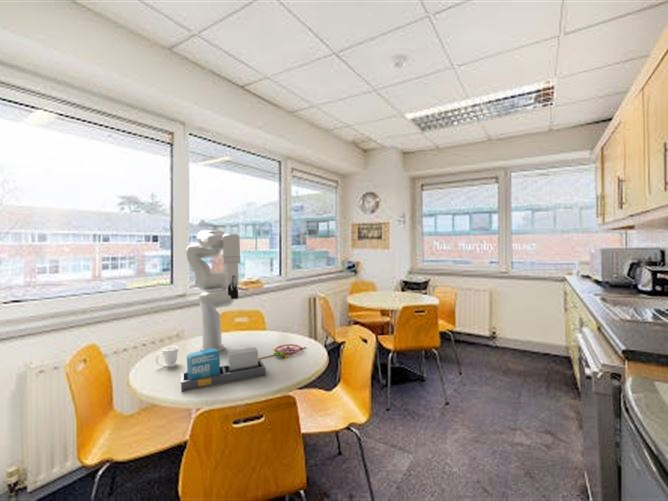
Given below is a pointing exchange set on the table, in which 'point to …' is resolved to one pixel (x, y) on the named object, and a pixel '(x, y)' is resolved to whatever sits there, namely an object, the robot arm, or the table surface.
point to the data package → (203, 364)
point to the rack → (229, 370)
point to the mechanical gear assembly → (285, 351)
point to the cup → (169, 356)
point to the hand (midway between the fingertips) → (233, 296)
